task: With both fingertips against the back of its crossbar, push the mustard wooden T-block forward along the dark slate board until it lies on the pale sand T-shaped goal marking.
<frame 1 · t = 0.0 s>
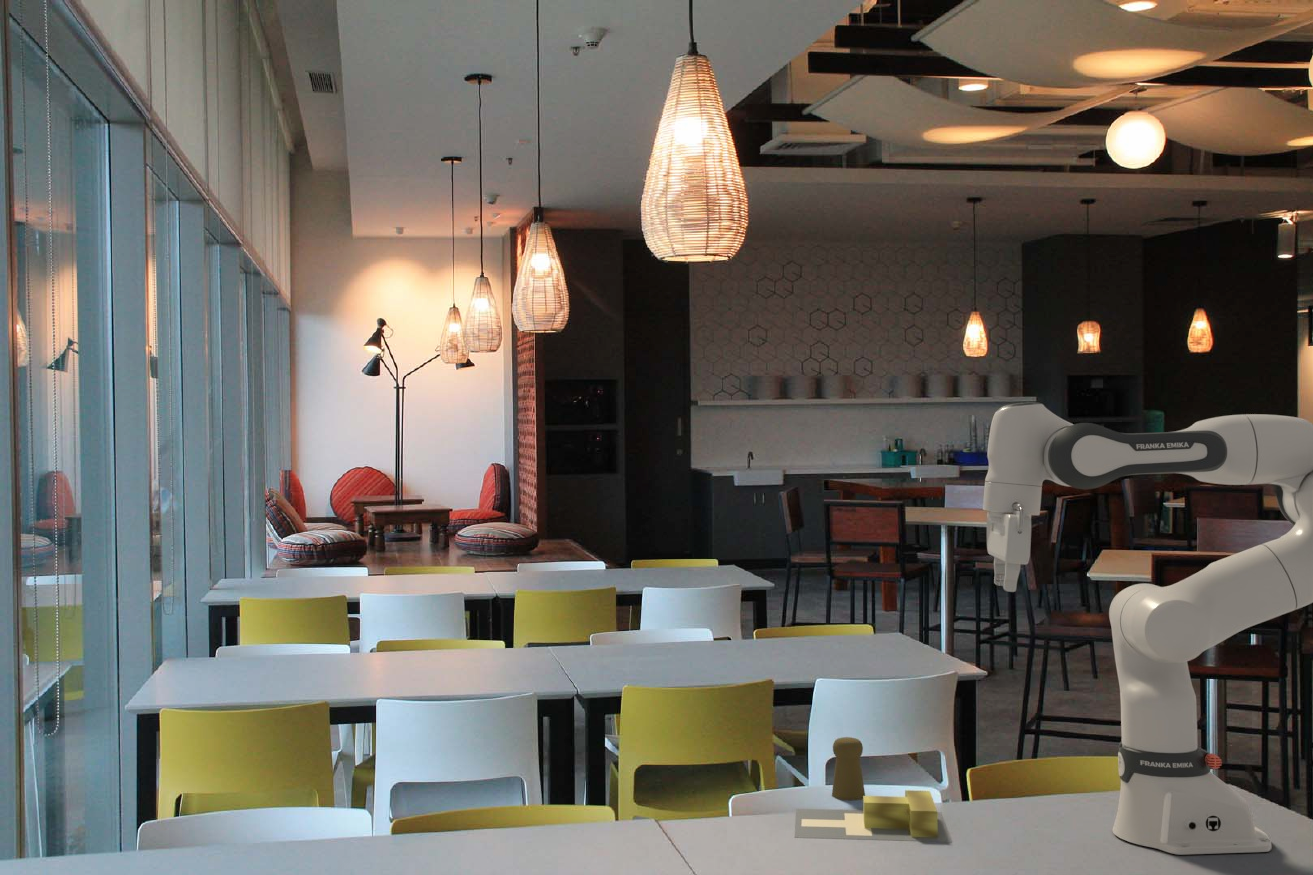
hand: (1004, 588, 192), 39 cm above the table, tool pointing down, fingers open, 8 cm apart
board: (870, 830, 193), on the table
cork: (848, 802, 210), on the table
t block: (908, 825, 192), point 1 cm above the table, touching board
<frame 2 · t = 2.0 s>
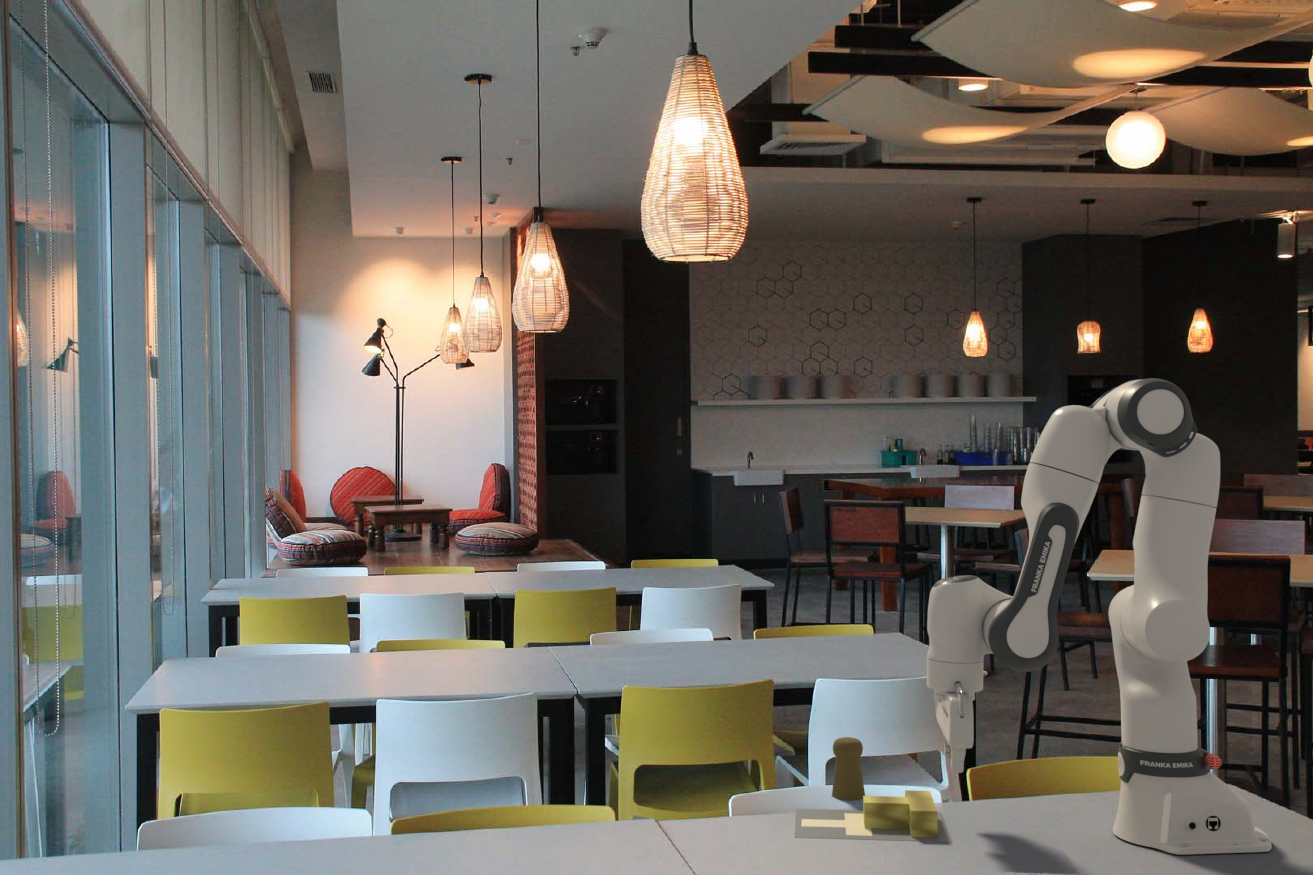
hand: (953, 764, 192), 11 cm above the table, tool pointing down, fingers open, 8 cm apart
nothing on the table moved.
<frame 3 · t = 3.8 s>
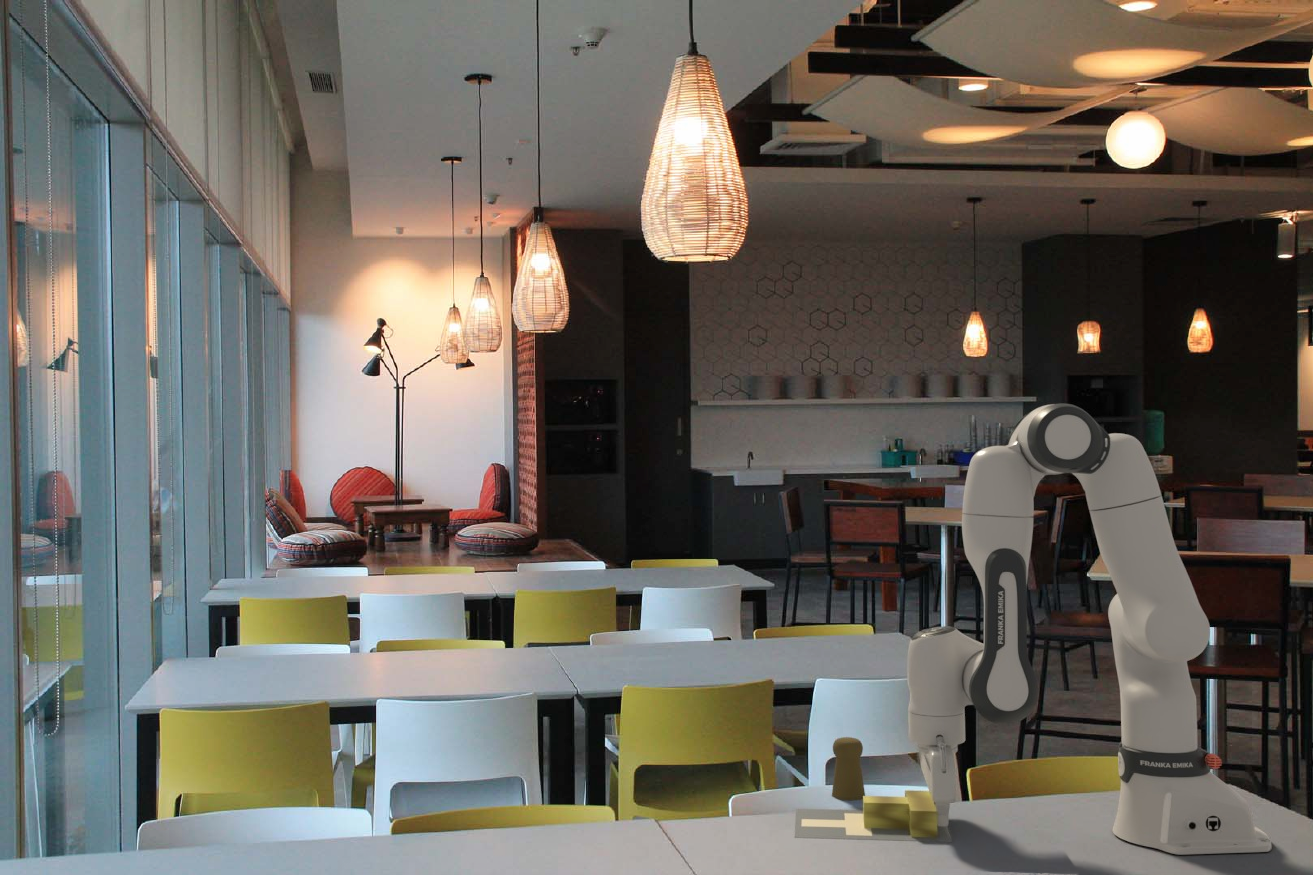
hand: (939, 816, 192), 3 cm above the table, tool pointing down
t block: (908, 825, 192), point 1 cm above the table, touching board, gripper
everything else where it was.
when the fingers open (3 cm above the table, at t = 5.3 s): t block stays where it is, resting on board.
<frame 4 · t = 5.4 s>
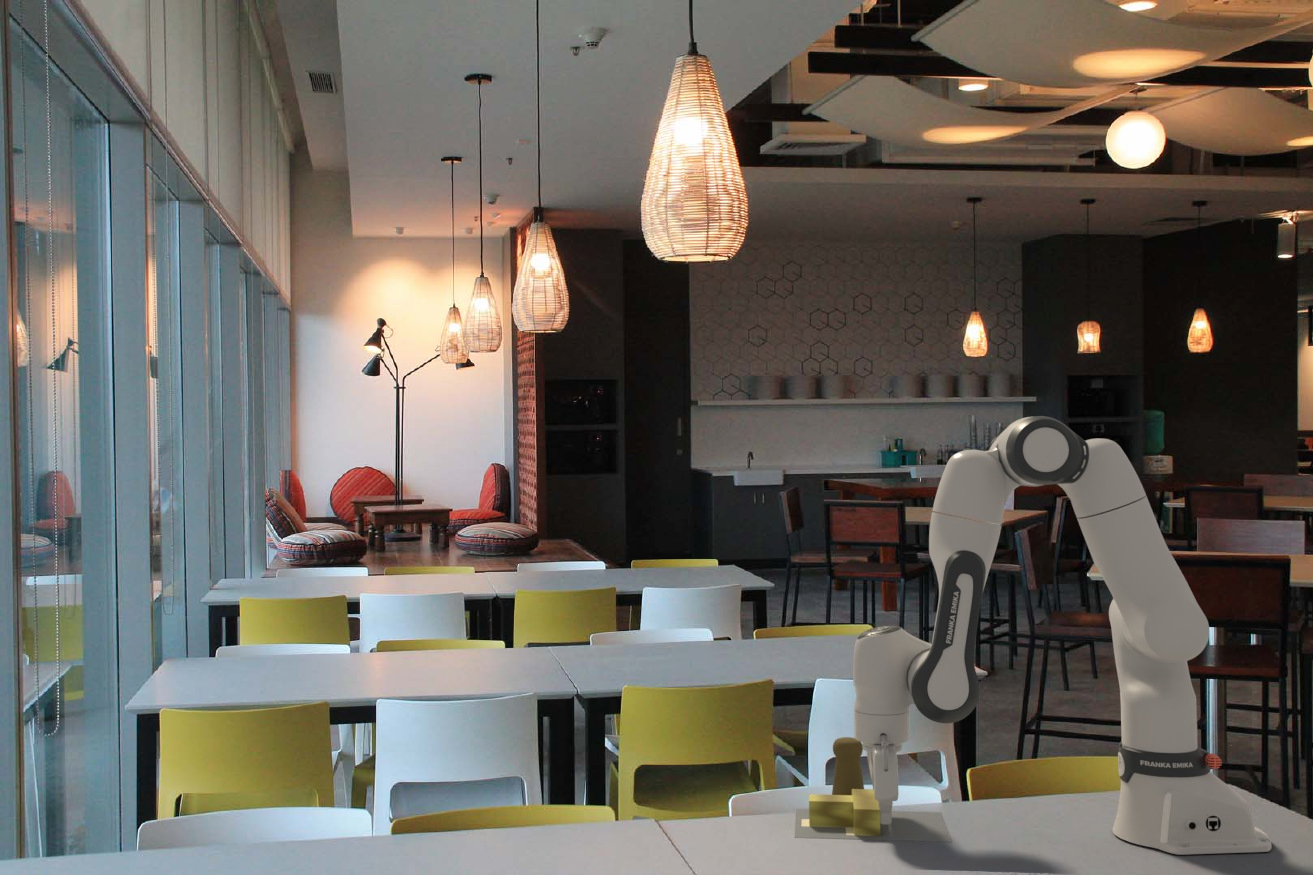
hand: (883, 814, 193), 3 cm above the table, tool pointing down, fingers open, 8 cm apart
t block: (853, 823, 194), point 1 cm above the table, touching board, gripper
everything else where it was.
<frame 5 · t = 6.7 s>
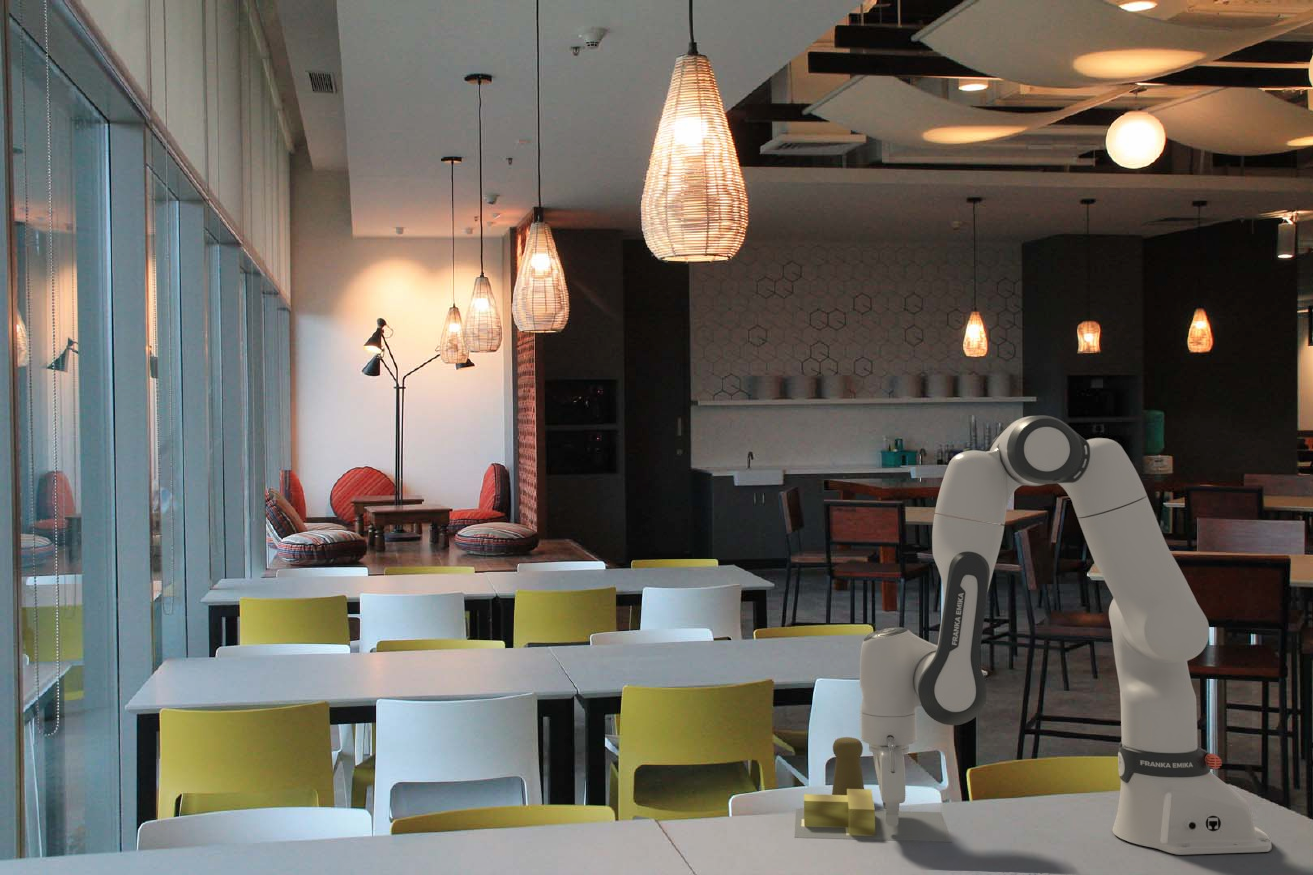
hand: (890, 816, 193), 2 cm above the table, tool pointing down, fingers open, 8 cm apart
t block: (848, 823, 194), point 1 cm above the table, touching board
everything else where it was.
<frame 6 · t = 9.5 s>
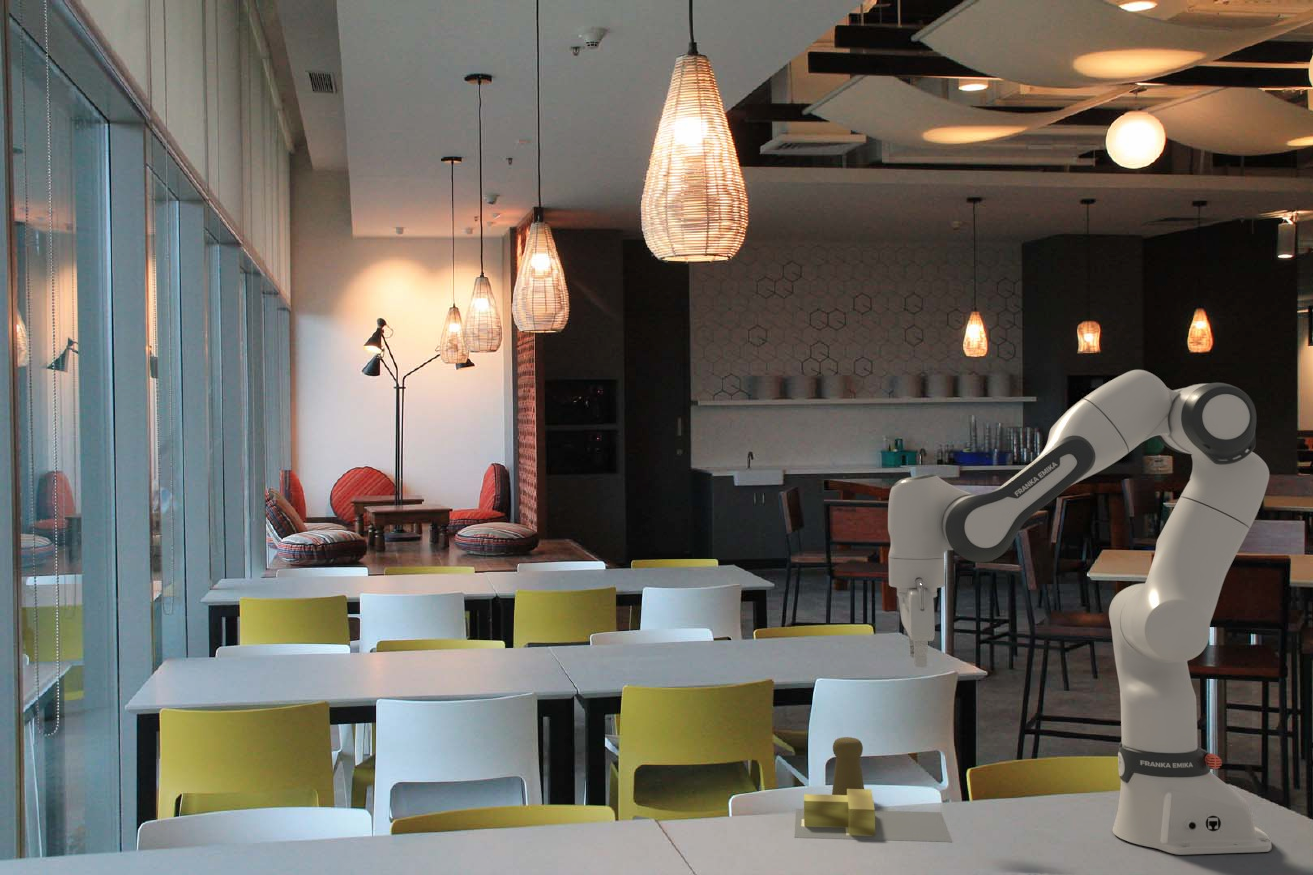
hand: (918, 661, 193), 27 cm above the table, tool pointing down, fingers open, 8 cm apart
nothing on the table moved.
at the end: t block 0.8 cm from the target spot, point 1.0 cm above the table; t block tilted 0°; t block touching board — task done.
